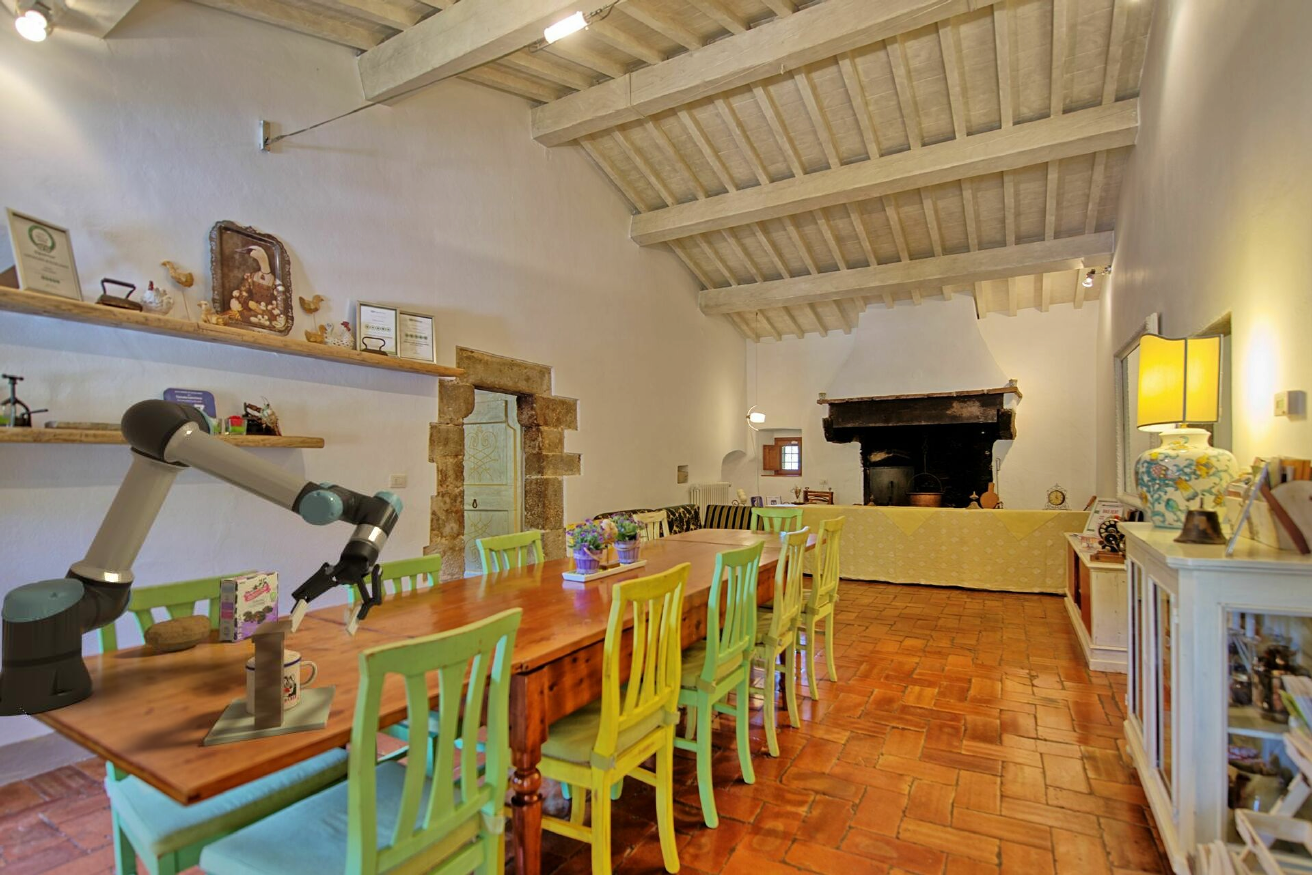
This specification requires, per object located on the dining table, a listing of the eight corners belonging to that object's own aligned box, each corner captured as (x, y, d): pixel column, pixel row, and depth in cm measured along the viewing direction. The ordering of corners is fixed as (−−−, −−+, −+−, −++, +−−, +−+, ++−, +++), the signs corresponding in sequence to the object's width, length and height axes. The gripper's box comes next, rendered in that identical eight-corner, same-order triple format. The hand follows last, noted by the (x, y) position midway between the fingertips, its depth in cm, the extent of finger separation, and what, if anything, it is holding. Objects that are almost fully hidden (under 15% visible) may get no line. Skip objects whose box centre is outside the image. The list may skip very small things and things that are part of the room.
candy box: (235, 643, 167) (235, 580, 168) (217, 641, 169) (218, 579, 169) (278, 629, 181) (279, 571, 181) (262, 628, 182) (262, 570, 183)
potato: (138, 652, 160) (139, 620, 160) (204, 640, 171) (205, 610, 171) (148, 660, 154) (149, 626, 154) (216, 646, 164) (217, 615, 165)
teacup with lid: (249, 720, 114) (250, 654, 115) (240, 706, 121) (241, 644, 121) (323, 702, 122) (323, 641, 123) (310, 690, 129) (311, 632, 129)
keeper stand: (204, 746, 106) (205, 640, 107) (233, 703, 125) (233, 614, 126) (324, 727, 113) (325, 628, 114) (335, 690, 132) (335, 605, 132)
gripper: (419, 560, 149) (381, 643, 134) (321, 557, 153) (273, 637, 137) (407, 540, 144) (367, 623, 129) (307, 537, 148) (255, 618, 132)
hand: (318, 631), depth 133 cm, fingers open, 13 cm apart
